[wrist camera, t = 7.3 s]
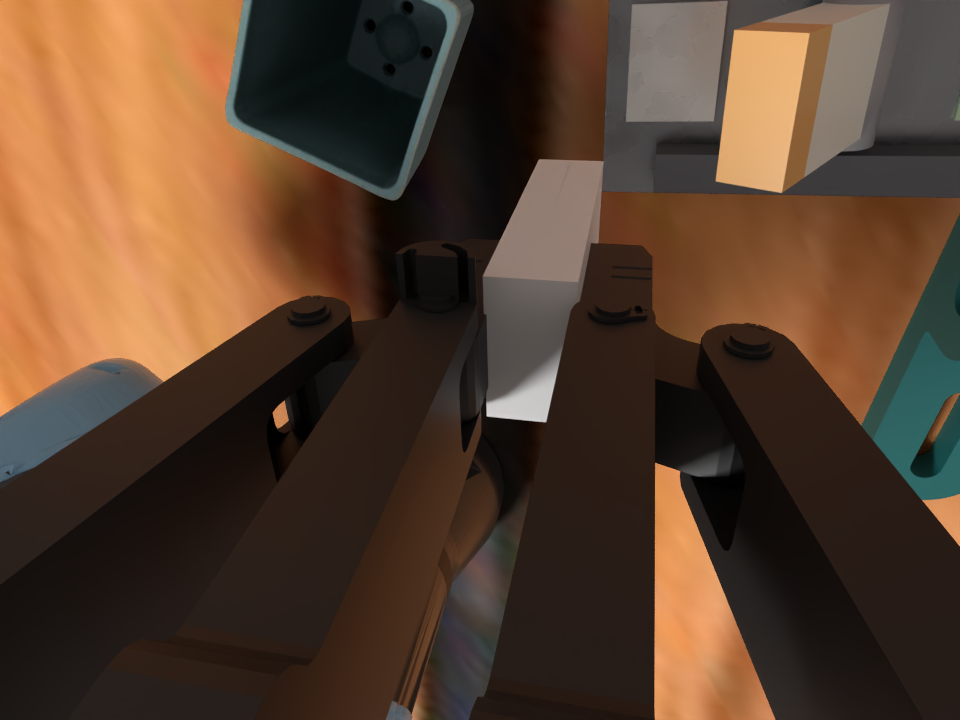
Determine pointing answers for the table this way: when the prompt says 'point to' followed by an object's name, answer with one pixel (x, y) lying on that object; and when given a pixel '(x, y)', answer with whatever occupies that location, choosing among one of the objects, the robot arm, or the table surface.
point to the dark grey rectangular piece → (824, 172)
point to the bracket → (925, 386)
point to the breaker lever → (806, 90)
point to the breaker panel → (705, 69)
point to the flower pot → (346, 82)
